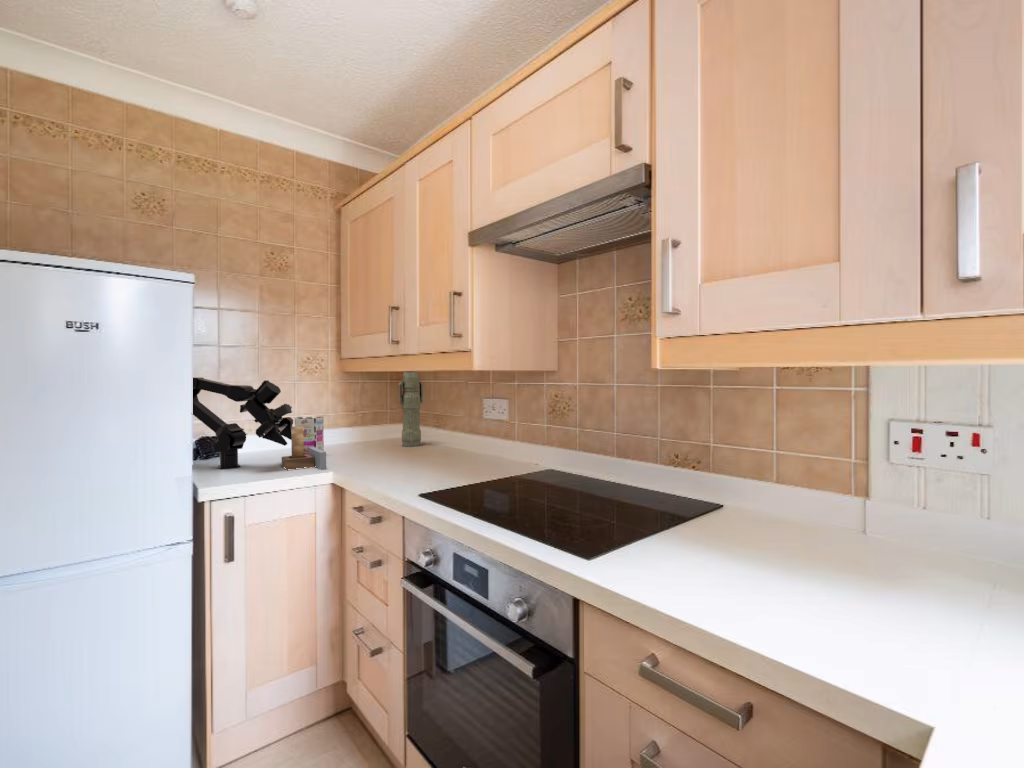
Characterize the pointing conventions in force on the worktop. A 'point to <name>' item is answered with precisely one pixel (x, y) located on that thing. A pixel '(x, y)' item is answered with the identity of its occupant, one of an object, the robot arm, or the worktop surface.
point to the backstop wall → (318, 457)
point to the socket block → (297, 462)
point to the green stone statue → (411, 408)
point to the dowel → (297, 442)
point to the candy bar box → (311, 432)
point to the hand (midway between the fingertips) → (291, 442)
